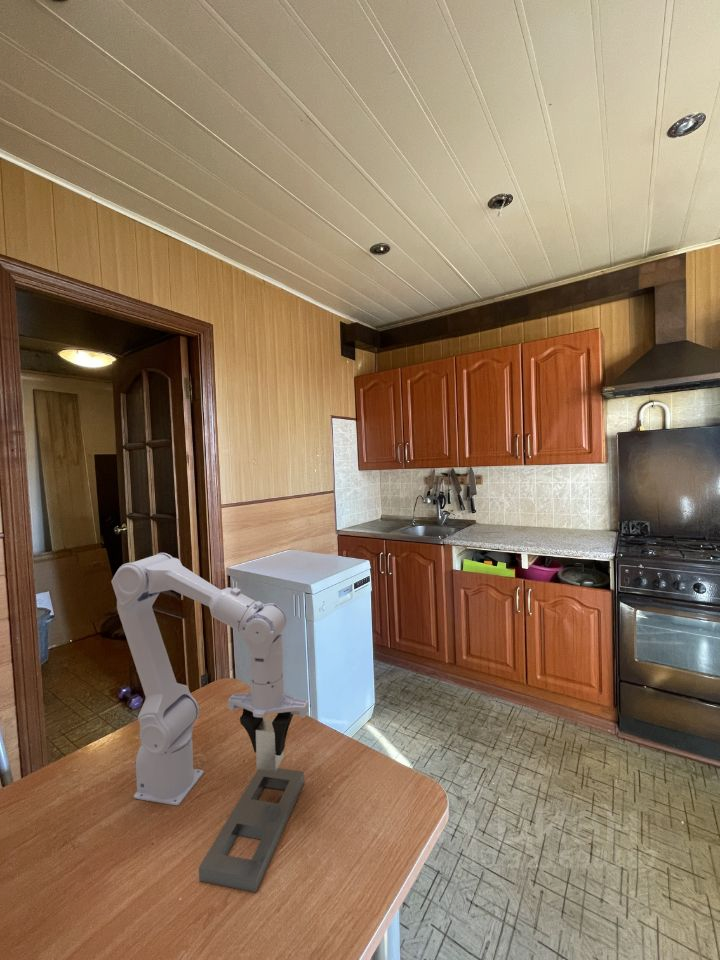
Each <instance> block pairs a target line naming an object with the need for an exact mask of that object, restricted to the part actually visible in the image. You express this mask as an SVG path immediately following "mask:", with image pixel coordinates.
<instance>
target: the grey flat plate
mask: <svg viewBox="0 0 720 960" xmlns="http://www.w3.org/2000/svg"><path fill="white" fill-rule="evenodd" d="M304 783H305V771H301V770H295V769H287V768H279V767H278V768H277V770H276V772H275V771H268V770H261V769H257V770H256V771H255V773H254V775H253V777H252V779H251V780H250V782H249V784H248V785H247V787H246V789H245V790H244V792H243V793H242V795H241V797H240V799H239V800H238V802H237V803H236V804H235V807H234V809H233V810H232V811H231V813H230V815H229V816H228V818H227V820H226V822H225V823H224V826H223V827H222V828H221V830H220V832H219V833H218V834H217V837H216V838H215V840H214V841H213V843H212V844H211V846H210V848H209V849H208V852H207V853H206V855H205V856H204V859H203V860H202V862H201V863H200V865H199V866H198V881H199V882H203V883H206V884H212V885H218V886H222V887H226V888H227V887H228V888H233V889H236V890H242V891H247V892H251V893H257V892H258V890H259V888H260V885H261V883H262V880H263V878H264V876H265V874H266V871H267V869H268V867H269V864H270V863H271V859H272V858H273V855H274V852H275V850H276V848H277V846H278V844H279V842H280V839H281V837H282V834H283V832H284V830H285V827H286V825H287V823H288V820H289V818H290V816H291V814H292V811H293V809H294V807H295V804H296V803H297V799H298V797H299V795H300V793H301V791H302V788H303V786H304ZM264 788H269V789H276V790H284V791H283V794H281V795H282V796H281V797H280V800H279V802H278V803H277V802H271V801H270V802H269V801H264V800H258V799H259V797H260V795H261V794H262V792H263V790H264ZM239 836H240V837H245V838H249V839H250V838H251V839H257V840H260V841H259V843H258V845H257V847H256V850H255V852H254V854H253V856H252V858H251V859H249V858H242V857H238V856H232V855H228V853H229V851H230V850H231V848H232V846H233V845H234V843H235V841H236V840H237V837H239Z"/></svg>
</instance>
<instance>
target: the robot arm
mask: <svg viewBox="0 0 720 960" xmlns="http://www.w3.org/2000/svg"><path fill="white" fill-rule="evenodd" d="M110 582H111V585H112V589H113V591H114V594H115V597H116V610H117V613H118V615H119V620H120V622H121V624H122V625H121V626H122V629H123V631H124V635H125V637H126V641H127V644H128V647H129V651H130V653H131V656H132V659H133V663H134V665H135V668H136V669H135V670H136V672H137V675H138V679H139V681H140V684H141V688H142V690H143V693H144V696H145V698H144V702H143V704H142V707H141V709H140V711H139V714H138V716H137V721H138V723H139V734H138V735H139V741H140V743H141V745H140V746H139V749H138V751H137V754H136V759H135V774H136V775H135V776H136V792H135V793H134V794H133V799H135V800H141V801H147V802H153V803H158V804H165V805H171V806H179V805H180V804H181V803H182V801H183V800H184V799H185V798H186V797H187V795H188V794H189V793H190V792H191V790H192V789H193V787H195V785H196V784H197V783H198V781H199V779H201V777H202V776H203V774H204V770H202V769H198V768H194V752H193V747H194V746H193V730H194V723H195V722H196V721H197V719H198V718H199V715H200V708H199V707H200V706H199V703H198V701H197V700H196V698H195V697H194V696H193V695H192V694H191V692H190V689H189V686H188V685H186V684H182V683H180V682H179V683H178V682H177V679H176V677H175V674H174V671H173V667H172V664H171V661H170V658H169V655H168V652H167V648H166V646H165V644H164V639H163V637H162V634H161V631H160V627H159V624H158V621H157V618H156V615H155V612H154V609H153V606H154V603H155V601H156V600H157V598H158V597H159V595H160V593H162V592H166V591H167V592H168V591H174V592H176V593H178V594H180V595H182V596H185V597H187V598H189V599H191V600H194V601H196V602H198V603H200V604H202V605H204V606H206V607H208V608H209V612H210V615H211V617H212V618H214V619H216V620H217V621H219V622H221V623H223V624H225V625H227V626H229V627H230V628H232V629H234V630H235V631H237V632H239V633H241V635H242V638H243V641H244V642H245V644H246V645H247V647H248V654H249V671H250V673H249V675H250V677H249V678H250V692H247V693H233V694H232V695H231V696H230V697H229V698H228V699H227V701H228V702H227V703H228V704H227V706H228V711H235V710H236V709H239V710H242V714H241V716H240V717H239V723H240V724H241V725H242V727H243V728H244V730H245V731H246V733H247V735H248V737H249V740H250V743H251V746H252V748H253V751H254V753H256V729H257V728H258V726H259V725H260V723H261V722H262V720H263V719H264V718H265V717H266V715H274V714H276V716H275V717H274V718H273V719H274V720H273V722H272V726H273V729H274V733H275V739H276V755H278V756H280V755H281V754H282V752H283V750H284V751H285V747H286V746H285V745H286V744H285V743H286V741H287V740H286V739H287V736H288V735H287V734H288V731H289V727H290V724H291V722H292V719H293V716H294V715H296V716H297V715H298V716H299V718H303V719H304V718H306V716H307V714H308V712H309V701H308V700H306V699H301V698H297V697H294V696H291V695H289V694H287V693H284V692H285V691H284V686H285V685H284V660H283V657H284V656H283V635H282V634H281V633H283V631H284V630H285V628H286V625H287V616H286V614H285V611H284V610H283V608H281V607H280V606H278V604H276V603H271V602H269V603H266V604H264V603H263V602H262V601H259V600H257V601H256V600H254V599H252V598H250V596H249V597H248V596H247V595H245V594H243V593H241V592H242V591H241V590H242V589H240V588H238V587H234V588H232V587H226V588H223V589H220V588H219V587H217V586H215V585H214V584H212V583H211V582H209V581H207V580H206V579H204V578H203V577H201V576H199V575H198V574H196V573H194V572H193V571H191V570H190V569H189V568H186V567H185V566H183V564H182V562H181V560H180V558H177V557H173V556H172V555H171V554H168V553H166V552H159V553H156V554H155V555H151V556H148V557H145V558H143V559H139V560H136V561H132V562H126V563H124V564H121V566H119V568H118V569H117V571H116V572H115V574H114V576H113V578H111V581H110Z"/></svg>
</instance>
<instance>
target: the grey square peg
mask: <svg viewBox="0 0 720 960" xmlns="http://www.w3.org/2000/svg"><path fill="white" fill-rule="evenodd" d="M274 719H275V718H272V717H263V720H262V722H261V723H260V725H259V726H258V728H257V729H256V756H255V757H256V769H257V770H258V769H261V770H268V771H275V772H276V770H277V768H279V766H280V765H281V762H282V761H283V759H284V755H285V753H284V752H285V749H284V750H283V752H282V754H281V755H280V756H278V755H276V739H275V733H274V729H273V726H272V722H273V720H274Z"/></svg>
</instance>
